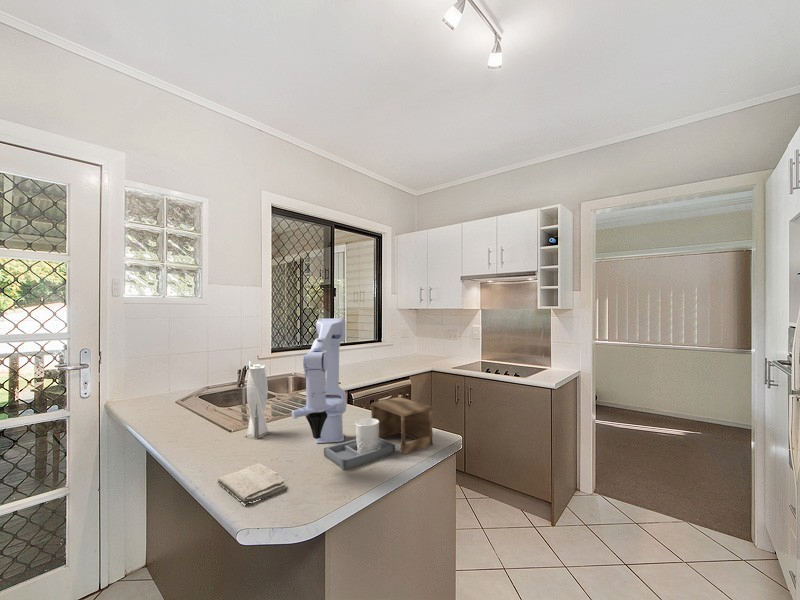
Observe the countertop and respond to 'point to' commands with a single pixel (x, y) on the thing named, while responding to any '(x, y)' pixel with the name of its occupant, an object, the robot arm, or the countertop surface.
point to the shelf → (404, 421)
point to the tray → (356, 453)
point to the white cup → (367, 434)
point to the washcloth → (253, 483)
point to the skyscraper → (257, 401)
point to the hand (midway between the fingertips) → (316, 437)
